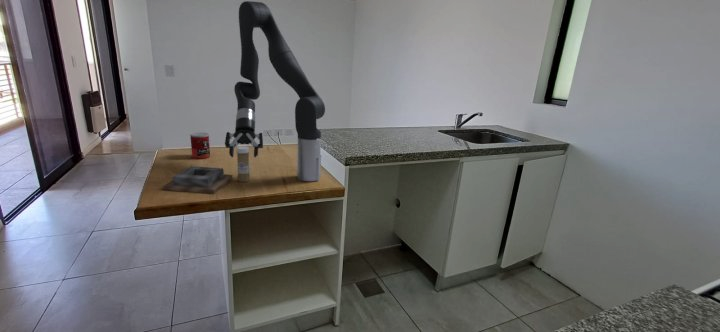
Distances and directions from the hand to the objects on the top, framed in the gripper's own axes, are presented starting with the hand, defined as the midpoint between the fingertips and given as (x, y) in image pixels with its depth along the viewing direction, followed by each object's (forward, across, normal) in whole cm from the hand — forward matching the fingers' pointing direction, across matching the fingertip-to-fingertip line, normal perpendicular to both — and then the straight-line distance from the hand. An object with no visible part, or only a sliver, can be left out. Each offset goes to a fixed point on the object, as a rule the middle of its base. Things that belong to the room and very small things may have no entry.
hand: (243, 156), depth 130 cm
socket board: (+10, -15, +3) cm, 19 cm away
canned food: (-15, -22, +28) cm, 39 cm away
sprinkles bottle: (+8, 0, +5) cm, 10 cm away
